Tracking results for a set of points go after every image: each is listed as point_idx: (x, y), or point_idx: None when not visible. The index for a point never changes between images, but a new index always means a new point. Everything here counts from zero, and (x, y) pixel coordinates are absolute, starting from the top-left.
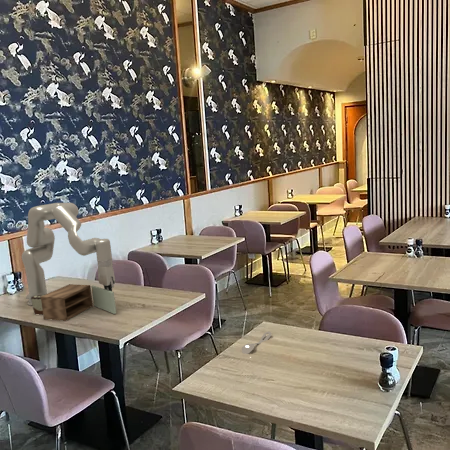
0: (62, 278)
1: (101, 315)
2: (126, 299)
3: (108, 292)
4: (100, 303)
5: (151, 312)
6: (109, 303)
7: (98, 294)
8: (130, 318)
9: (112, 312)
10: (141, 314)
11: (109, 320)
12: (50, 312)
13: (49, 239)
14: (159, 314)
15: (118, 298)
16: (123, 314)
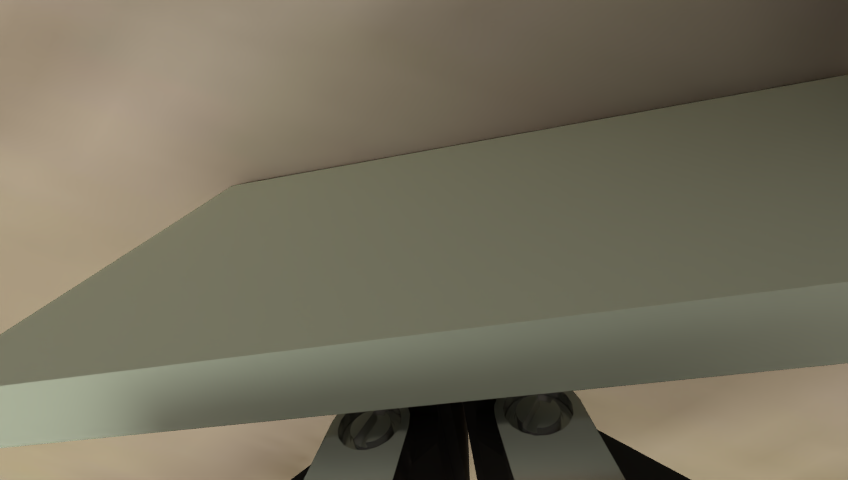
0: None
1: (319, 27)
2: (687, 461)
3: (111, 353)
4: (630, 134)
5: (99, 455)
6: (278, 214)
7: (781, 174)
8: (6, 271)
9: (270, 181)
10: None
11: (36, 52)
12: None
13: None
14: (13, 472)
15: (821, 425)
16: None
